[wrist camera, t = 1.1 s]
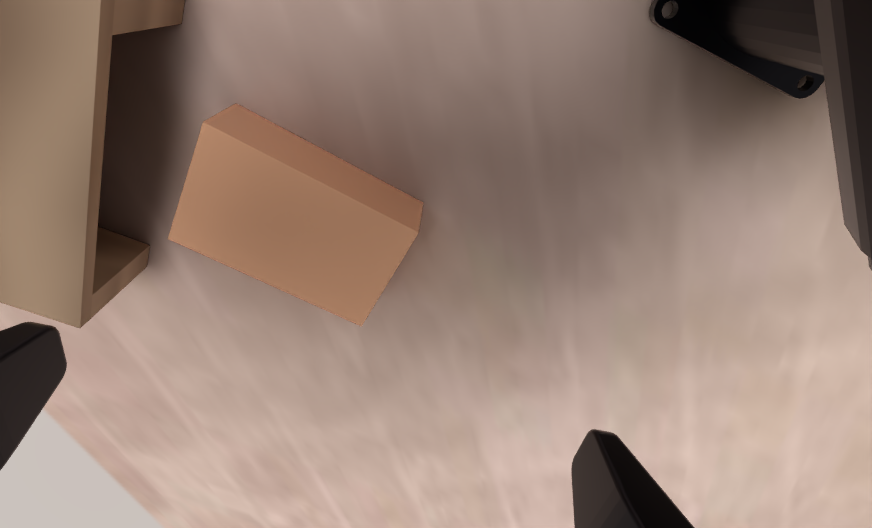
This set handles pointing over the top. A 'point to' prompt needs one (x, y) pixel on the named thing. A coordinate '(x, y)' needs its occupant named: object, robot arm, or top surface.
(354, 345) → the top surface
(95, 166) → the shelf
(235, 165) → the peach cardboard box
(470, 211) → the top surface
